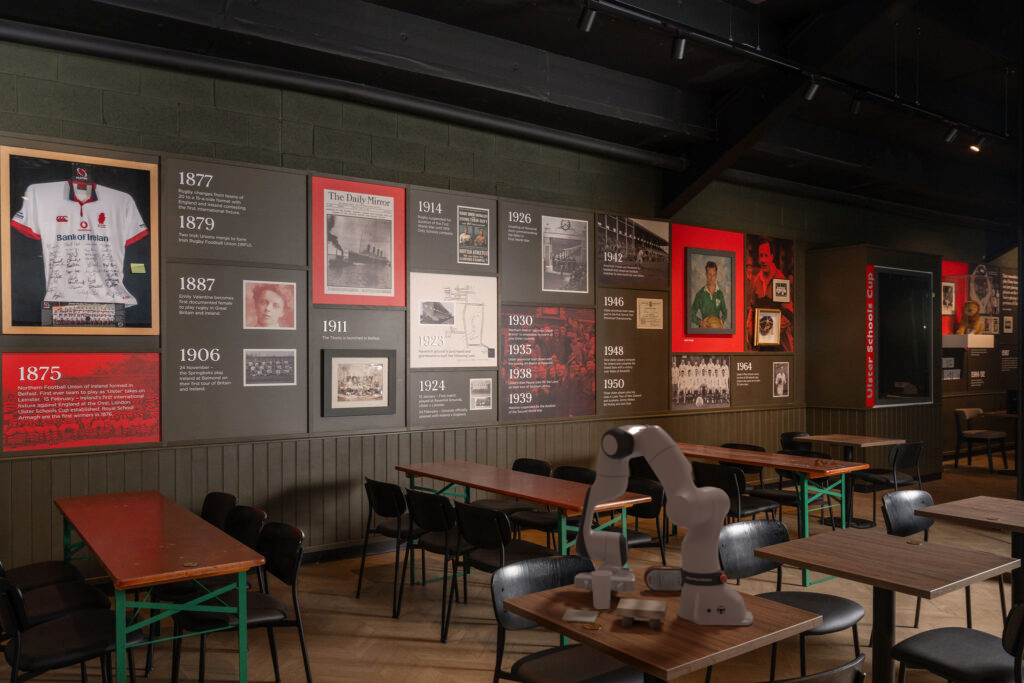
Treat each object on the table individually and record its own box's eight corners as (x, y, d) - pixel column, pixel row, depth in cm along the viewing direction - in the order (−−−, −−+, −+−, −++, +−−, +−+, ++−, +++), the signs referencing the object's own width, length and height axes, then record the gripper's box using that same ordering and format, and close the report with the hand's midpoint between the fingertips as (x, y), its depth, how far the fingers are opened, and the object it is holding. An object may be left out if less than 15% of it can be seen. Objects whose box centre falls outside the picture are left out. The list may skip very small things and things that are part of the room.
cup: (601, 612, 236) (600, 577, 237) (587, 607, 241) (586, 572, 242) (616, 608, 240) (615, 573, 240) (602, 603, 245) (601, 569, 246)
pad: (599, 613, 235) (599, 611, 235) (594, 623, 225) (594, 621, 225) (567, 611, 237) (567, 609, 238) (561, 621, 228) (561, 619, 228)
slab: (667, 618, 229) (666, 600, 230) (664, 631, 218) (664, 612, 218) (621, 615, 233) (621, 597, 233) (616, 627, 222) (616, 609, 222)
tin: (687, 590, 260) (687, 565, 260) (689, 592, 257) (688, 567, 257) (644, 589, 261) (643, 565, 262) (644, 592, 258) (644, 567, 259)
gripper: (577, 566, 258) (570, 576, 244) (637, 569, 252) (633, 580, 239) (577, 584, 257) (570, 596, 244) (637, 588, 252) (633, 600, 239)
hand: (601, 588), depth 241 cm, fingers open, 8 cm apart
